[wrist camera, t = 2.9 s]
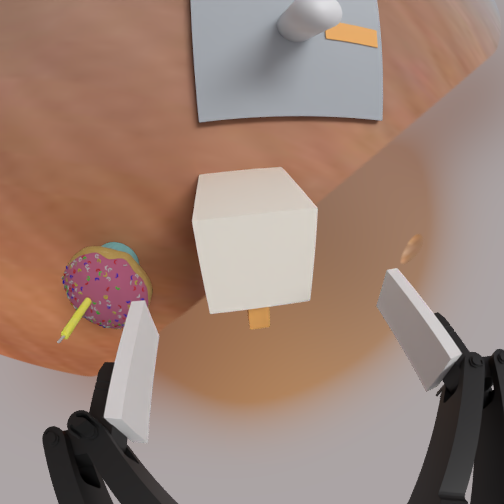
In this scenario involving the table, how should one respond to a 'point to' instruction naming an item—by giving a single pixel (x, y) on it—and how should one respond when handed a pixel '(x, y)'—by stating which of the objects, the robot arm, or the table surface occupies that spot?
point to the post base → (287, 58)
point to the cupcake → (104, 285)
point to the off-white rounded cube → (254, 241)
